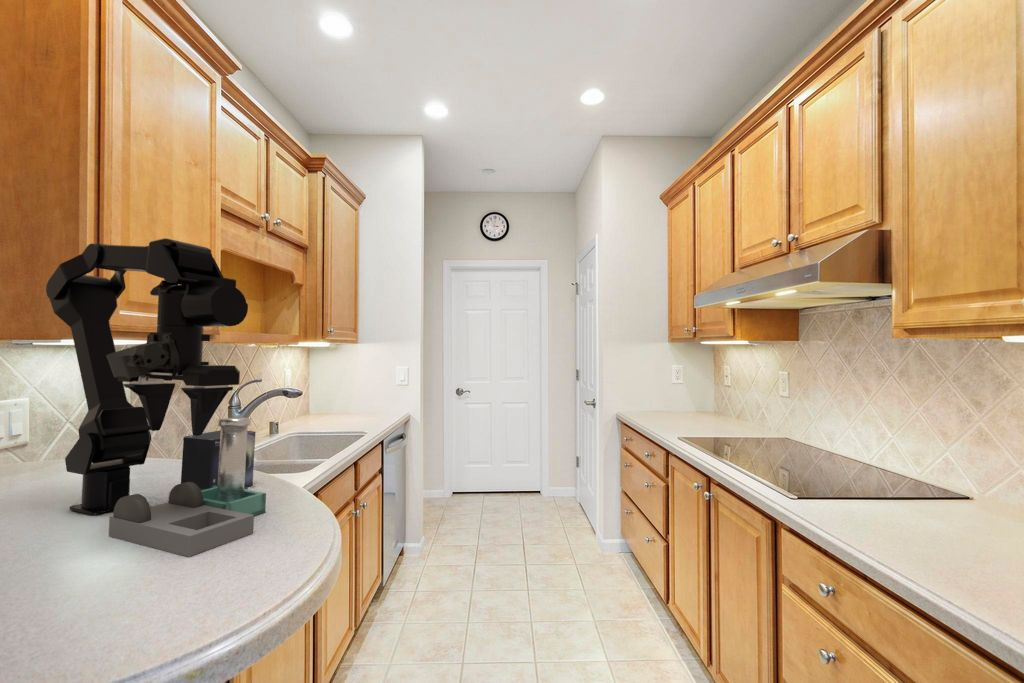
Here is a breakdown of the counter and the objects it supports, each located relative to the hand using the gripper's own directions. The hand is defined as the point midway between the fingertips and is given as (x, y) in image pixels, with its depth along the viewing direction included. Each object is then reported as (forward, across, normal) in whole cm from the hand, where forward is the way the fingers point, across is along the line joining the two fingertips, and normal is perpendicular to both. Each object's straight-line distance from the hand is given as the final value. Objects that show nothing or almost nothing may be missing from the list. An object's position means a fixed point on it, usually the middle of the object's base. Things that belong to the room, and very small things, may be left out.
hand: (175, 432), depth 72 cm
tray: (+13, +3, +6) cm, 15 cm away
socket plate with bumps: (+13, +6, -2) cm, 15 cm away
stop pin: (+12, +4, +6) cm, 14 cm away
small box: (+13, -9, +14) cm, 21 cm away
